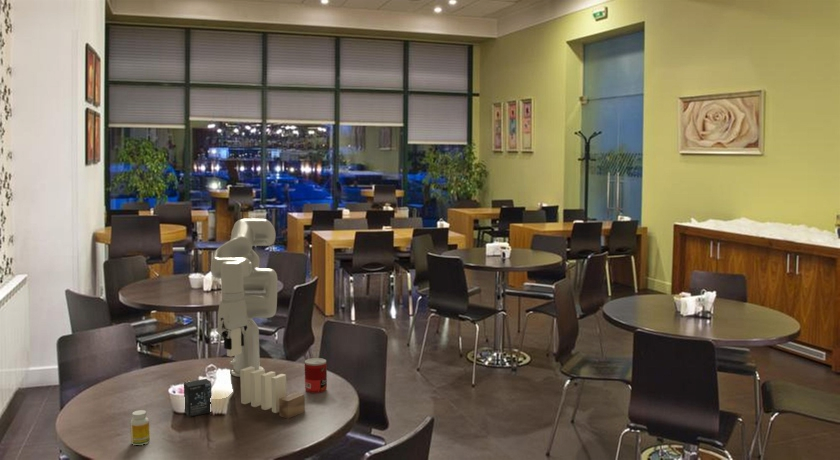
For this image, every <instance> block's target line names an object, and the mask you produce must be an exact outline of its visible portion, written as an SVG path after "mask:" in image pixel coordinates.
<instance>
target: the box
mask: <svg viewBox="0 0 840 460" xmlns="http://www.w3.org/2000/svg"><path fill="white" fill-rule="evenodd" d="M183 392H184V393H183V398H184V397H185V409H184V413H185V414H186V415H187V417H189V418H191V417H195V416H199V415H205V414H206V415H207V414H211V412H210V404H211V402H210V398H211V396H212V382H211V381H209V380H208V379H207V378H204V379H197V380H192V381H184V382H183Z"/></svg>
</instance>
